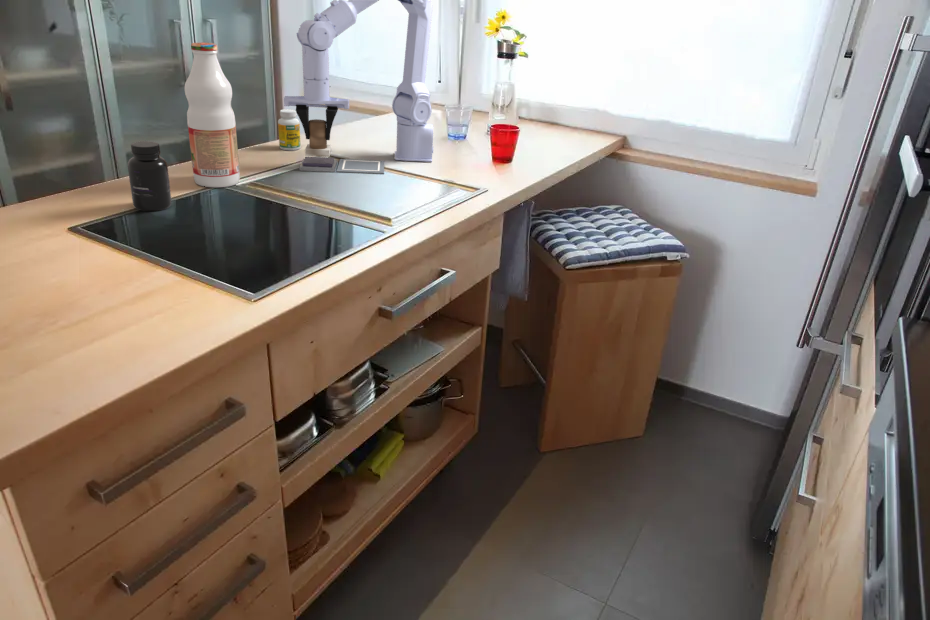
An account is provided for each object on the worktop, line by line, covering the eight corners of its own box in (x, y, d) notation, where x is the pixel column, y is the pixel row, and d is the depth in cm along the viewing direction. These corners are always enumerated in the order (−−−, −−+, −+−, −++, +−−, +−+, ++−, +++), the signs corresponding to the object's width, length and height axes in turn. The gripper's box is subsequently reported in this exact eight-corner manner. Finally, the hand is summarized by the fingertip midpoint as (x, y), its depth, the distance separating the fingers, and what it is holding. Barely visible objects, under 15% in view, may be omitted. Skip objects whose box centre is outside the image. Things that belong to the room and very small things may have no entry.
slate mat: (384, 162, 171) (384, 160, 171) (383, 174, 161) (383, 172, 161) (340, 160, 170) (340, 158, 170) (336, 172, 160) (336, 170, 160)
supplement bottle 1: (135, 213, 127) (125, 149, 122) (132, 202, 132) (122, 140, 127) (174, 210, 130) (166, 147, 125) (170, 199, 135) (162, 138, 130)
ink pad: (336, 164, 166) (336, 157, 166) (334, 172, 160) (334, 164, 159) (303, 162, 166) (303, 155, 165) (299, 170, 159) (299, 163, 159)
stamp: (331, 151, 164) (330, 119, 161) (329, 156, 159) (328, 124, 156) (307, 150, 164) (306, 118, 160) (305, 155, 159) (304, 123, 155)
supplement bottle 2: (293, 145, 180) (292, 107, 176) (304, 149, 177) (303, 111, 173) (275, 147, 177) (273, 109, 173) (286, 151, 174) (284, 113, 169)
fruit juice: (215, 191, 142) (200, 47, 129) (184, 182, 146) (167, 42, 133) (249, 181, 149) (239, 45, 136) (219, 173, 153) (207, 40, 141)
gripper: (349, 77, 158) (350, 136, 164) (285, 73, 156) (288, 133, 163) (348, 82, 152) (348, 143, 158) (281, 78, 150) (284, 140, 156)
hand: (318, 138), depth 160 cm, fingers closed on stamp, 4 cm apart
